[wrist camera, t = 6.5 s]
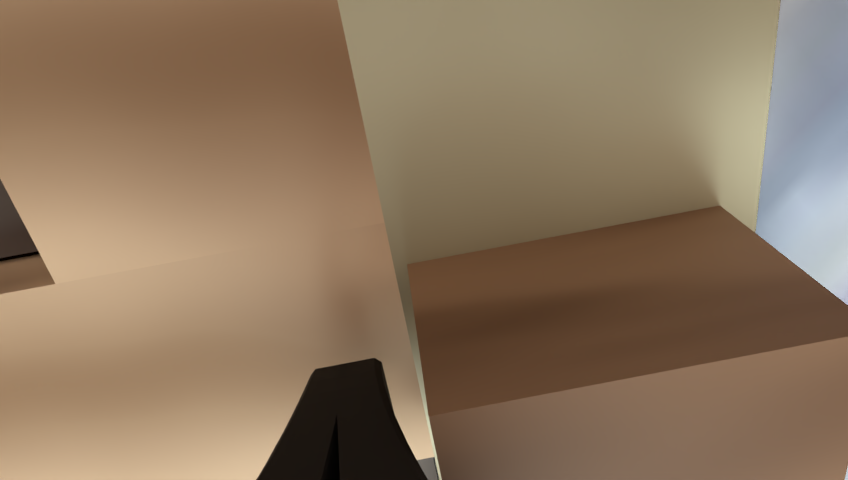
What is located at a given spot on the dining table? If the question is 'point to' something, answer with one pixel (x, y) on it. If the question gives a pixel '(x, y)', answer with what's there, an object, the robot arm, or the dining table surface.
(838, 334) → the walnut block
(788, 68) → the dining table surface
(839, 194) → the dining table surface
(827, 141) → the dining table surface
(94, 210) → the trap track
